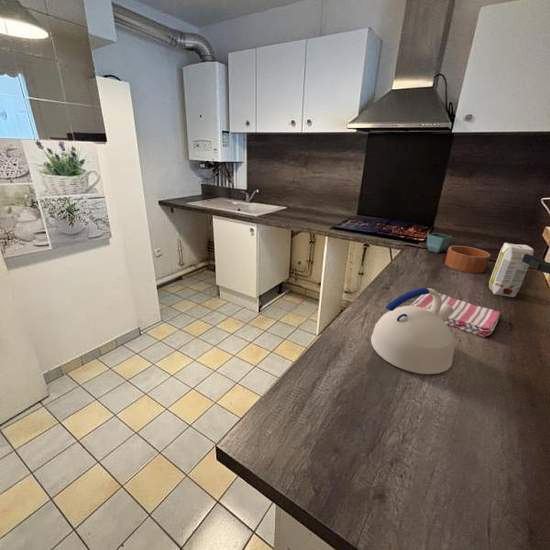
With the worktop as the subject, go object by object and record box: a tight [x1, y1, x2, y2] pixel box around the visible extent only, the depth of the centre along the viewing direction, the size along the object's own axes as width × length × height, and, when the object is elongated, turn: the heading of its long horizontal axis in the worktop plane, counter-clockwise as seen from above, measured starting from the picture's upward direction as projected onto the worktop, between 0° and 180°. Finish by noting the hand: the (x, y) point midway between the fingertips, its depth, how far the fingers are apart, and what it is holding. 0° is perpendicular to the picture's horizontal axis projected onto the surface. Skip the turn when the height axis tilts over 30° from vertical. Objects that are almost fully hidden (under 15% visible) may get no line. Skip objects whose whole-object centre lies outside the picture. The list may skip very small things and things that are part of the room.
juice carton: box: [488, 242, 535, 298], centre depth 109 cm, size 8×9×19 cm
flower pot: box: [426, 232, 452, 254], centre depth 156 cm, size 9×9×9 cm
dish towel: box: [409, 292, 502, 338], centre depth 95 cm, size 17×23×4 cm
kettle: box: [370, 287, 456, 375], centre depth 75 cm, size 20×21×18 cm
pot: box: [444, 245, 491, 274], centre depth 137 cm, size 17×17×8 cm
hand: (542, 257), depth 97 cm, fingers open, 13 cm apart
